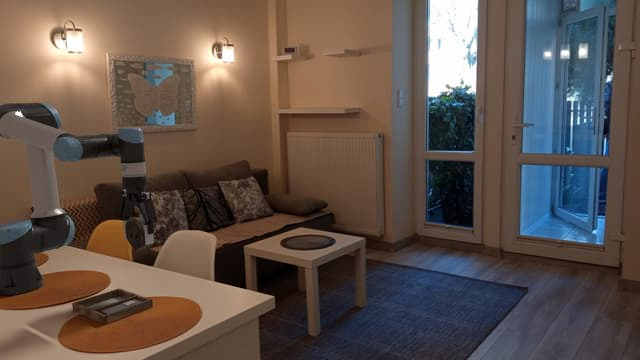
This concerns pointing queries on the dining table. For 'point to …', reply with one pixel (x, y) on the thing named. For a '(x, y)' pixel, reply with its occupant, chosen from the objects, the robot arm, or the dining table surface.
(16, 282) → the robot arm
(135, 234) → the alarm clock
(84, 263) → the dining table surface
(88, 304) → the organizer tray
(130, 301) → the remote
